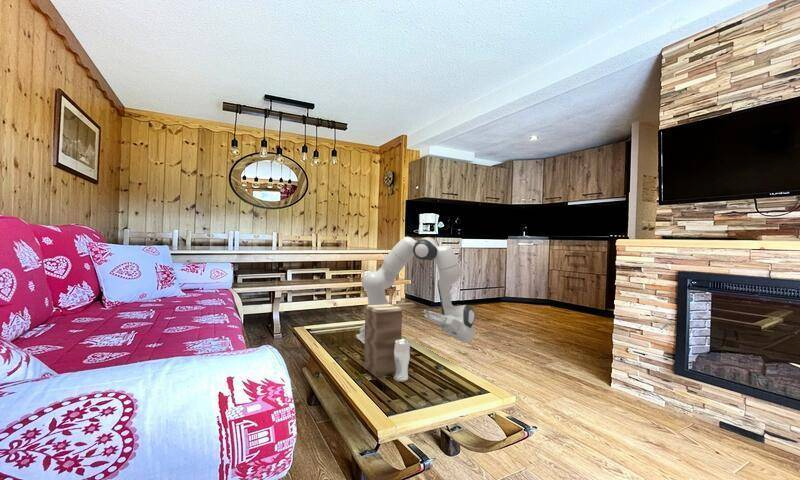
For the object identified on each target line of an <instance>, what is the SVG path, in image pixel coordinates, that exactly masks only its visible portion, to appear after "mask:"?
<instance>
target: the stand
mask: <svg viewBox="0 0 800 480" xmlns="http://www.w3.org/2000/svg"><path fill="white" fill-rule="evenodd" d="M364 309H365V312H364V314H365V316H364V318H365V319H364V324H365V343H364V347H363V348H364V349H363V350H364V351H363V369H365V370H366V371H367V370H368V371H367V372H368V373H370V374H371V375H373V376H374V377H376V378H377V377H380V376H385V375H389V374H390V375H391V374H393V373H394V372H395V367H394V360H393V345H394V341H395V340H398V339H402V333H403V332H402V330H403V328H402V327H403V310H402V309H401V311H394V312H384V313H377V312H375V311H372V310H370V309H367V308H364Z"/></svg>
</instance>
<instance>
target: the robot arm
mask: <svg viewBox="0 0 800 480" xmlns="http://www.w3.org/2000/svg"><path fill="white" fill-rule="evenodd" d="M414 256H415V258H416V259H418V260H420V261H434V262H435V266H436V267H437V269H438V270H437V271H438V277H439V279H438V280H437V289H438V295H439V302H440V306H441V313H438V312H434V311H430V310H427V309H424V310H423V314H424V318H426V319H428V320H430V321H431V322H433V323H436V324H438V325H440V328H441V331H442V332H444V333H445V334H447V335H448V336H451V337H453V339H456V340H457V341H459V342H462V343H465V344H467V343H470V342H472V341H474V338H475V336H476V332H475V329H474V322H475V319H476V313H475V310H474V308H473V307H472V306H471V305H470V304H463V305H462V304H461V305H453V304H452V299H451V293H450V290H451V289H450V288H451V287H452V286H453V285H455V284H456V283H457V282H458V281H459V279H460V278H461V274H462V270H461V267H460V264H459V260H458V258H457V256H456V254H455V252H454V249H453V247H452V246H449V245H441V246H440V244H439V242H438V240H437V239H435V238H434V237H431V236H426V237H422V238H421V239H418V240H415V239H414V238H412V237H411V236H404V237H403V238H402V239H400V240H399V241H398V242H397V243H396V244H395V245H394V246H393V248H391V250H390V251H389V252H388V254H386V255H385V257H384V259H383V262H382V265H381V266H380V268H379V269H377V270H375V271H370V272H368V273H365V275H364V276H363V277H362V279H361V284H362V285H361V286H362V288H363V289H364V291H365V293H366V296H367V303H368V304H367V305H378V304H389V301H388V300H389V299H387V297H386V290H387V289H388V290H389V288H391V287H392V286H393V285H394V284H395V281H396V279H397V277H398V275H399V273H400V272H401V271H402V270H403V269H404V268H405V266H406V265H407V264H408V262H409V261H411V259H412V258H413V257H414ZM355 337H356V338H357V339H358V340H360V341H361V342H362V343H363V344H364V343H365V323H364V324H362V325H361V326H360V328H359V333H357V334H355ZM360 341H359V342H360ZM361 342H360V343H361ZM362 343H361V344H362Z"/></svg>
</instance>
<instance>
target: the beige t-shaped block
mask: <svg viewBox="0 0 800 480" xmlns="http://www.w3.org/2000/svg"><path fill="white" fill-rule="evenodd" d="M415 307H416V303H414V302H403V303H392V304H391V303H388V304H378V305H368V304H367V305H366V308H367V309H370V310H372V311H375V312H377V313H384V312H394V311H401V310H402V309H411V308H415Z"/></svg>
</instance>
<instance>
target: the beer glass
mask: <svg viewBox="0 0 800 480" xmlns="http://www.w3.org/2000/svg"><path fill="white" fill-rule="evenodd" d="M410 343H411V341H410V340H408V339H404V338H403V339H402V338H401V339H398V340H395V341H394V345H393V360H394V367H395V372H394V374H393V380H394V381H397V382H400V383H401V382H406V381H408V380H409V373H408V370H409V369H408V368H409V363H410V358H411V357H410V356H411V344H410Z"/></svg>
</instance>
